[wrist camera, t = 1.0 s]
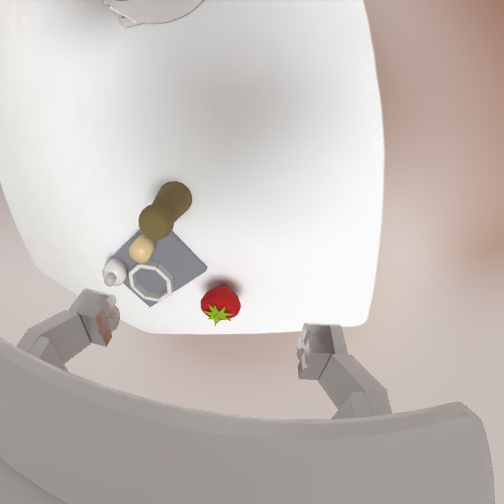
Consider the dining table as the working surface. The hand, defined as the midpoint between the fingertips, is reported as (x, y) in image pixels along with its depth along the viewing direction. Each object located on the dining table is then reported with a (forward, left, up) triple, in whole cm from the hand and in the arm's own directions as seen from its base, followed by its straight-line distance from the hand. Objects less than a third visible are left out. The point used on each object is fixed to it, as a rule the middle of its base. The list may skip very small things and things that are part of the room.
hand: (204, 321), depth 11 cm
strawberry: (+18, -21, -35) cm, 44 cm away
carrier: (+5, -29, -34) cm, 45 cm away
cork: (-2, -15, -35) cm, 38 cm away
